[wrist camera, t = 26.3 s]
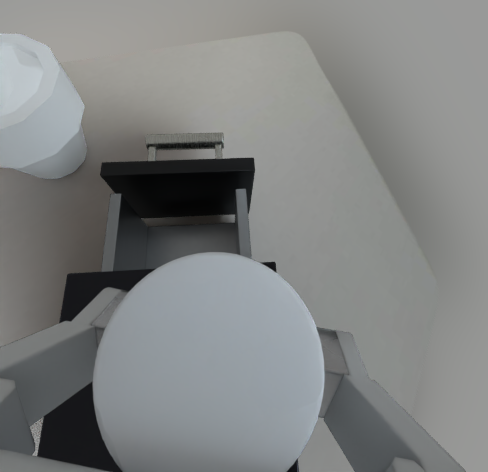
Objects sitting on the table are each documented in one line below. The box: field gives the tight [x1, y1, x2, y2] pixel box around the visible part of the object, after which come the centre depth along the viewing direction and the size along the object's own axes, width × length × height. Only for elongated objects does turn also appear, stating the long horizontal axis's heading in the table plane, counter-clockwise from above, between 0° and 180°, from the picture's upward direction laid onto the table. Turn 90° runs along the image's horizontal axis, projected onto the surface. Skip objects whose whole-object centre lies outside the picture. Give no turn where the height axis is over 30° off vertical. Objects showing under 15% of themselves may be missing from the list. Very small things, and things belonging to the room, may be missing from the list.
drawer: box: [100, 133, 255, 272], centre depth 22 cm, size 18×12×8 cm, turn 4°
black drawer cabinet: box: [37, 262, 299, 472], centre depth 18 cm, size 15×13×10 cm
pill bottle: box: [93, 252, 325, 472], centre depth 8 cm, size 5×5×8 cm
